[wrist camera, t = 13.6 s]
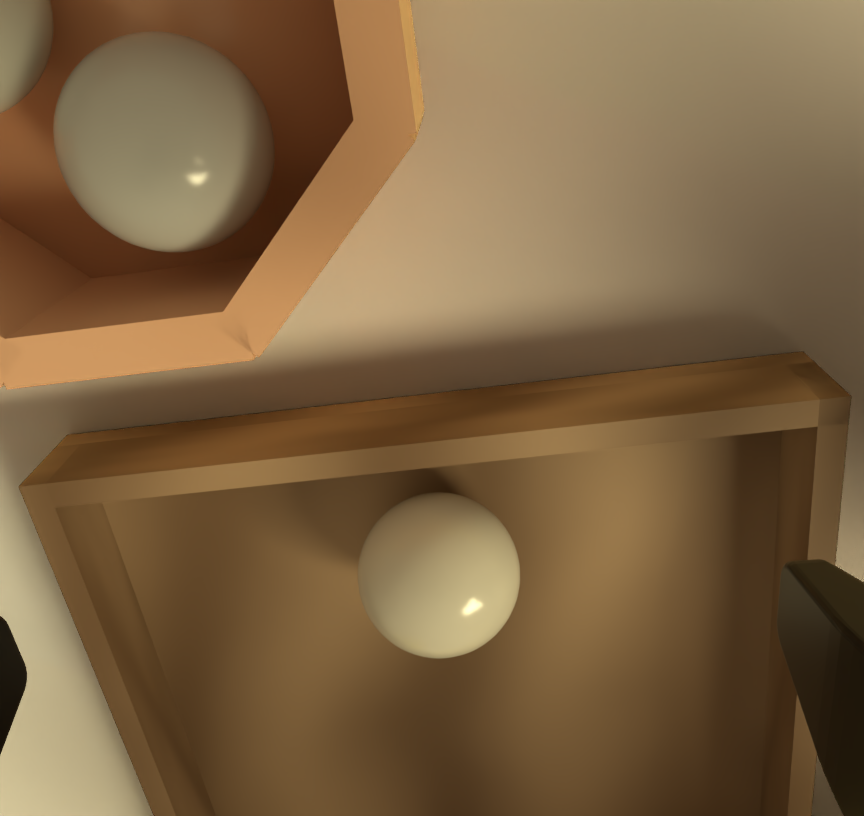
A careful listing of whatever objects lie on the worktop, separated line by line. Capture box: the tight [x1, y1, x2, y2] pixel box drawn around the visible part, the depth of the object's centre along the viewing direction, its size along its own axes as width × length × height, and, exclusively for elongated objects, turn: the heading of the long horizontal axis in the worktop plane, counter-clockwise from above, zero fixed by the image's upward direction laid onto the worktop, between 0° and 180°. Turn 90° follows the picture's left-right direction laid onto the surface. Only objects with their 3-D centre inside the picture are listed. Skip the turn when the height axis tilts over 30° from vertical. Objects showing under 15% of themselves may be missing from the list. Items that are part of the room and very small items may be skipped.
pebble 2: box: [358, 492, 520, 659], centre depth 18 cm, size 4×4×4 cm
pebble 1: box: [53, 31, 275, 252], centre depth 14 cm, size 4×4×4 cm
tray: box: [19, 352, 851, 816], centre depth 21 cm, size 17×16×2 cm
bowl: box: [0, 0, 424, 389], centre depth 13 cm, size 11×11×4 cm
